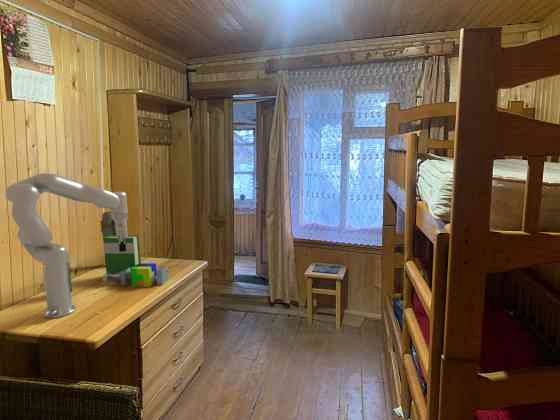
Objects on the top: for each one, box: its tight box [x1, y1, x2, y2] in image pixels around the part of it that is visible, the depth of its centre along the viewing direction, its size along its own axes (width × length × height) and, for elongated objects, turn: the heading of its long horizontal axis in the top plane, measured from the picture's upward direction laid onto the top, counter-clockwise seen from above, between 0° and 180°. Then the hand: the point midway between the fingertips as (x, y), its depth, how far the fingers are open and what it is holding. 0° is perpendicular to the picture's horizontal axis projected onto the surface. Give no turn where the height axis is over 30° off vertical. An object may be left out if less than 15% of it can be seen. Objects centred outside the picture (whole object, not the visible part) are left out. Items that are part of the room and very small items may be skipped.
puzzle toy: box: [131, 262, 157, 287], centre depth 210 cm, size 10×10×10 cm
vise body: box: [113, 265, 169, 286], centre depth 212 cm, size 12×30×8 cm, turn 92°
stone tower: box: [100, 210, 117, 239], centre depth 247 cm, size 9×12×35 cm
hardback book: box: [102, 234, 142, 280], centre depth 222 cm, size 18×7×24 cm, turn 84°
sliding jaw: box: [102, 267, 132, 287], centre depth 211 cm, size 9×12×8 cm
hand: (122, 251), depth 198 cm, fingers closed
